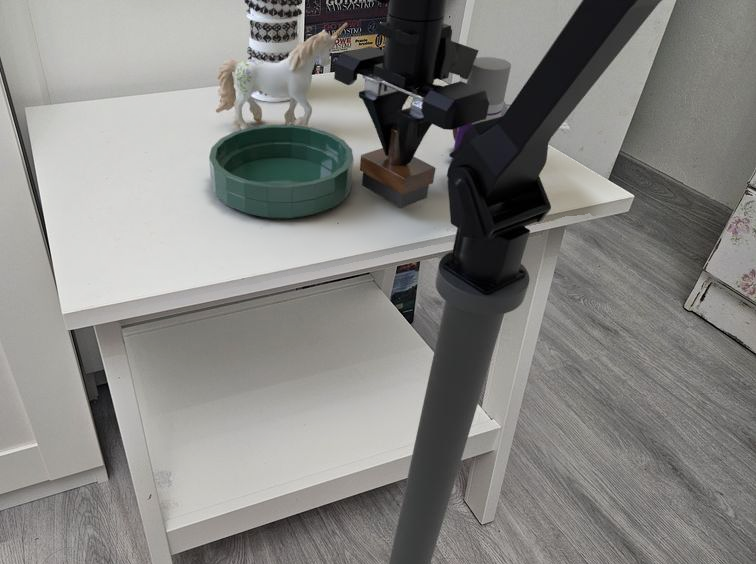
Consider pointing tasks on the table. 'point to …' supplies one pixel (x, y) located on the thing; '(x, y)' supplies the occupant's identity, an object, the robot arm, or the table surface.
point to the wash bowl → (281, 170)
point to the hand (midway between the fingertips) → (397, 159)
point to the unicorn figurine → (275, 79)
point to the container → (488, 87)
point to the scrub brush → (396, 174)
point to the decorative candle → (272, 34)
